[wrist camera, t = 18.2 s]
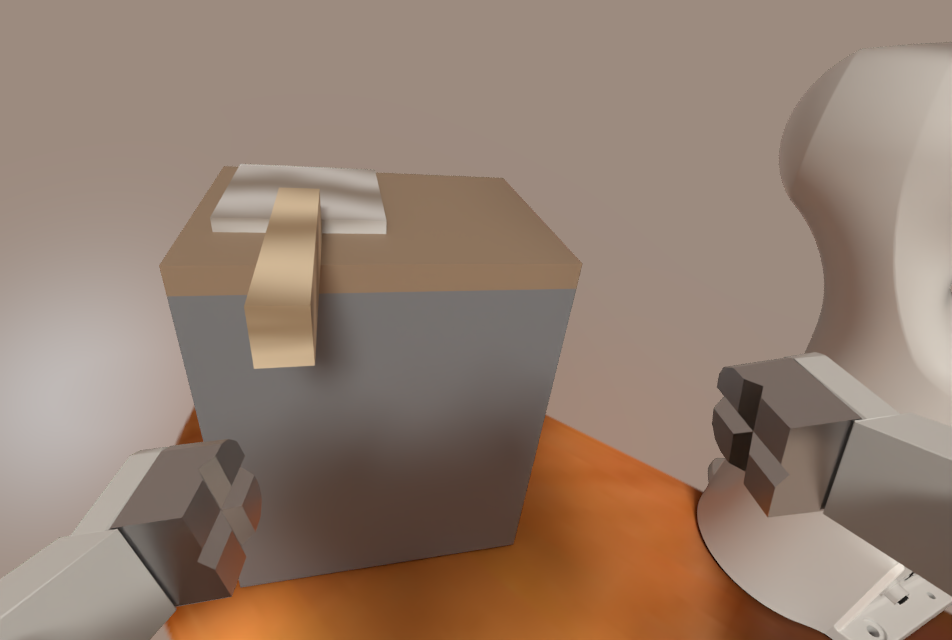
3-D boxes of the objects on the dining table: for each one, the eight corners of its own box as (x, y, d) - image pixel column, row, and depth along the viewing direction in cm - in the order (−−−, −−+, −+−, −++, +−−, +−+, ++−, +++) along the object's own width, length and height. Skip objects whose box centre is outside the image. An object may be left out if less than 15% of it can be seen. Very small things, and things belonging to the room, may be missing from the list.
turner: (413, 360, 18) (416, 302, 17) (138, 375, 16) (117, 309, 15) (374, 180, 36) (374, 145, 35) (242, 175, 34) (236, 138, 33)
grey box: (470, 412, 54) (503, 178, 41) (513, 544, 41) (582, 263, 28) (265, 430, 49) (223, 166, 35) (240, 587, 36) (159, 265, 22)
